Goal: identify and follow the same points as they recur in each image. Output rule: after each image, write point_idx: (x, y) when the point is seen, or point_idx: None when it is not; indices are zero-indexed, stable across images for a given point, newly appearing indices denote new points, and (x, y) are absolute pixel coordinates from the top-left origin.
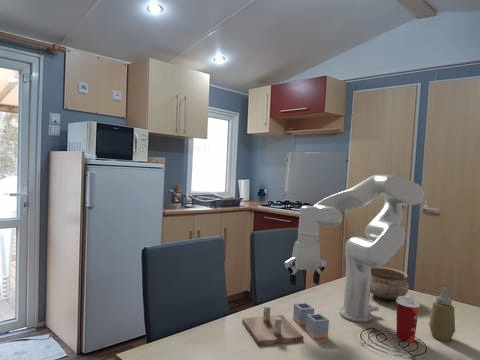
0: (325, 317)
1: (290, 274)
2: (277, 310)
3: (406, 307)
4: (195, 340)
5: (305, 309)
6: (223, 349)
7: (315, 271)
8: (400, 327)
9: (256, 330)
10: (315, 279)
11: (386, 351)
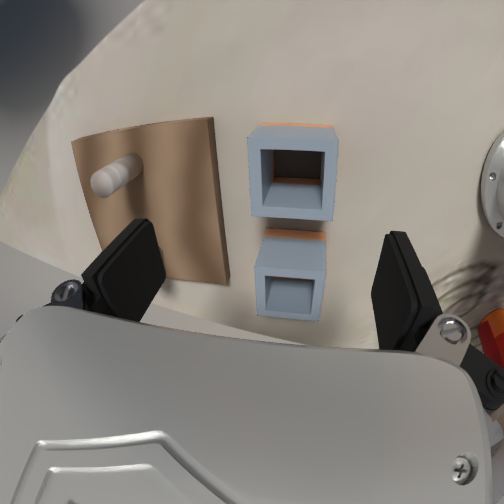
0: (320, 305)
1: (86, 291)
2: (224, 29)
3: None
4: (24, 216)
5: (279, 216)
6: (63, 255)
7: (414, 346)
8: (486, 350)
9: (103, 223)
10: (383, 297)
11: None
